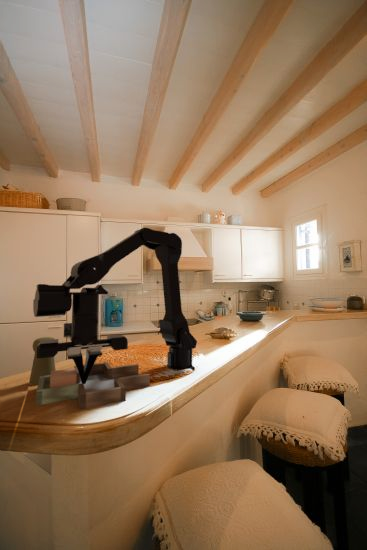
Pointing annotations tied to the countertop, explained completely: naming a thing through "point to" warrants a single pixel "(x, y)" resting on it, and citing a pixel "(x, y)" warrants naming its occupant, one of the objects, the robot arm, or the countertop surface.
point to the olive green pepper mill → (41, 364)
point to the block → (63, 378)
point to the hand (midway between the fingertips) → (83, 383)
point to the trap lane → (94, 386)
